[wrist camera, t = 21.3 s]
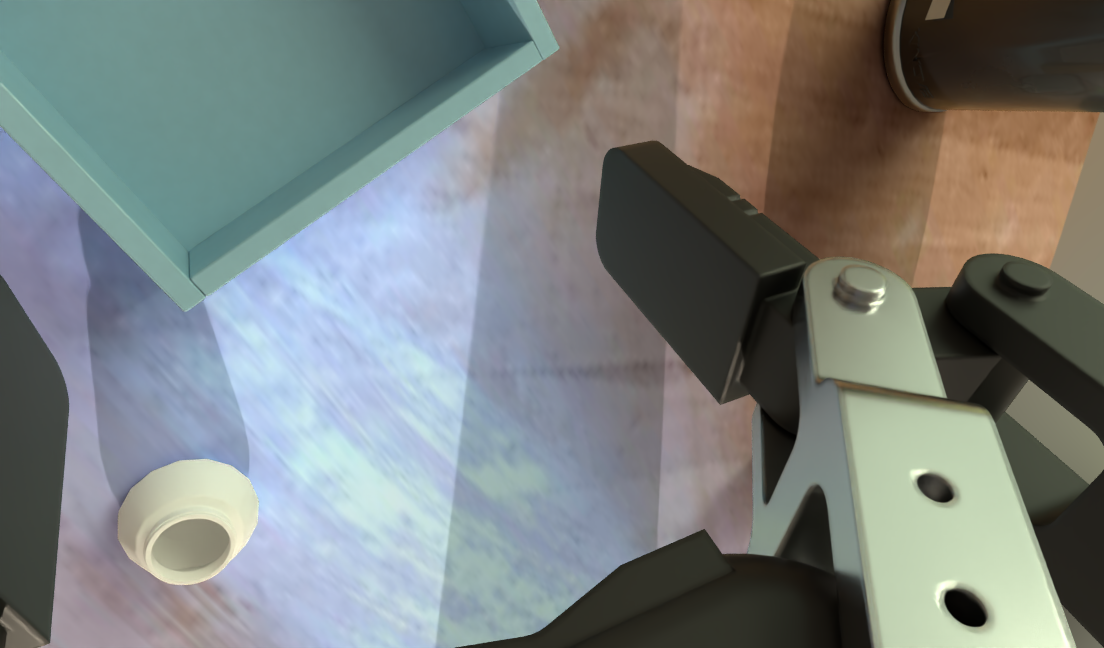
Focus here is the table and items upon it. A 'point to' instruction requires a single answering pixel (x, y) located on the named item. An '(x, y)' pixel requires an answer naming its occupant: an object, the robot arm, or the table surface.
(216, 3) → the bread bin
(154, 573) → the cream truncated cone
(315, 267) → the table surface
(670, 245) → the robot arm
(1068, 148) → the table surface
